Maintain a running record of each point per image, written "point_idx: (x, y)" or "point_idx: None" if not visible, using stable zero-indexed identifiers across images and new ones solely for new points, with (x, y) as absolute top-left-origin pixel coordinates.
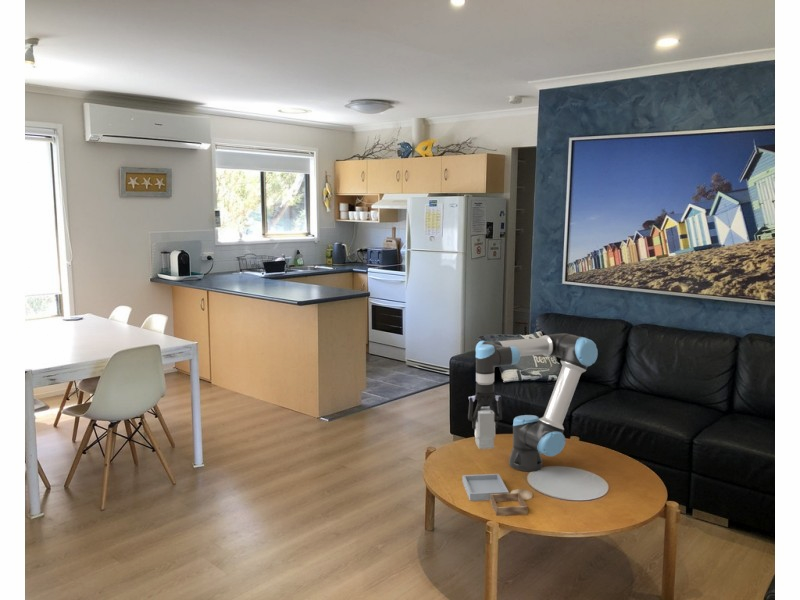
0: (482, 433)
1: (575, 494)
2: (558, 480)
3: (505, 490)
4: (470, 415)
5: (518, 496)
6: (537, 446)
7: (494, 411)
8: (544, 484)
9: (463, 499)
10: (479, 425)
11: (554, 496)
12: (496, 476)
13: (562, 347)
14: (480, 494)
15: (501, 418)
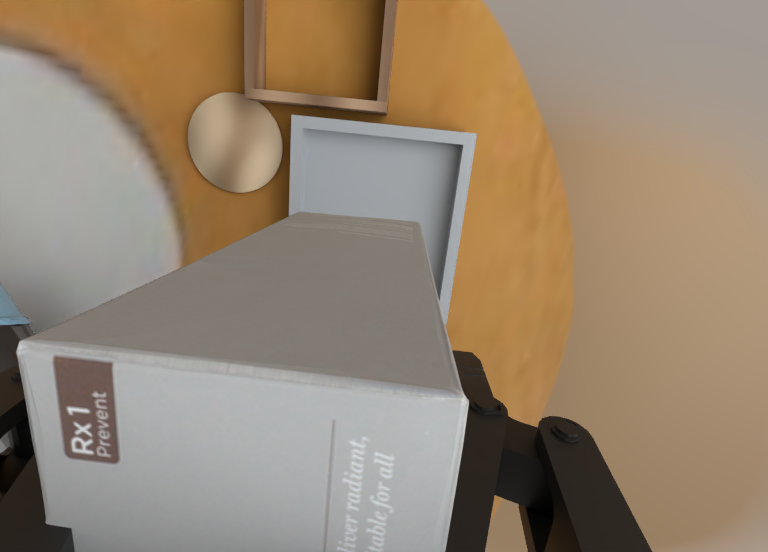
0: (391, 245)
1: (6, 102)
2: (55, 246)
3: (302, 135)
4: (597, 492)
5: (256, 76)
6: (2, 324)
7: (22, 489)
8: (118, 222)
9: (493, 155)
10: (434, 286)
11: (99, 102)
12: None
13: None
14: (426, 129)
15: (18, 366)
